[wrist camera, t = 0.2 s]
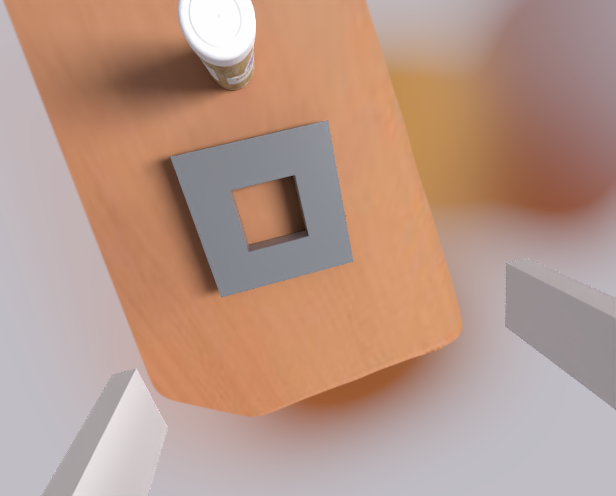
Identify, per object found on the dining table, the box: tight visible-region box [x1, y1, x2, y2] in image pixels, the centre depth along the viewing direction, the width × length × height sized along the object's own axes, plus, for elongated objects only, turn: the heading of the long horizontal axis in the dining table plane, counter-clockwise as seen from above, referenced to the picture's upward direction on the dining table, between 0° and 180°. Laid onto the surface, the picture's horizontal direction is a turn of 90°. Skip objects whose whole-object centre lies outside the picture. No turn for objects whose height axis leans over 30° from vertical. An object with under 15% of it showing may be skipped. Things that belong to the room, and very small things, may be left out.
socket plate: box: [170, 120, 353, 297], centre depth 35 cm, size 16×16×2 cm
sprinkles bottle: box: [178, 0, 256, 90], centre depth 25 cm, size 5×5×14 cm
